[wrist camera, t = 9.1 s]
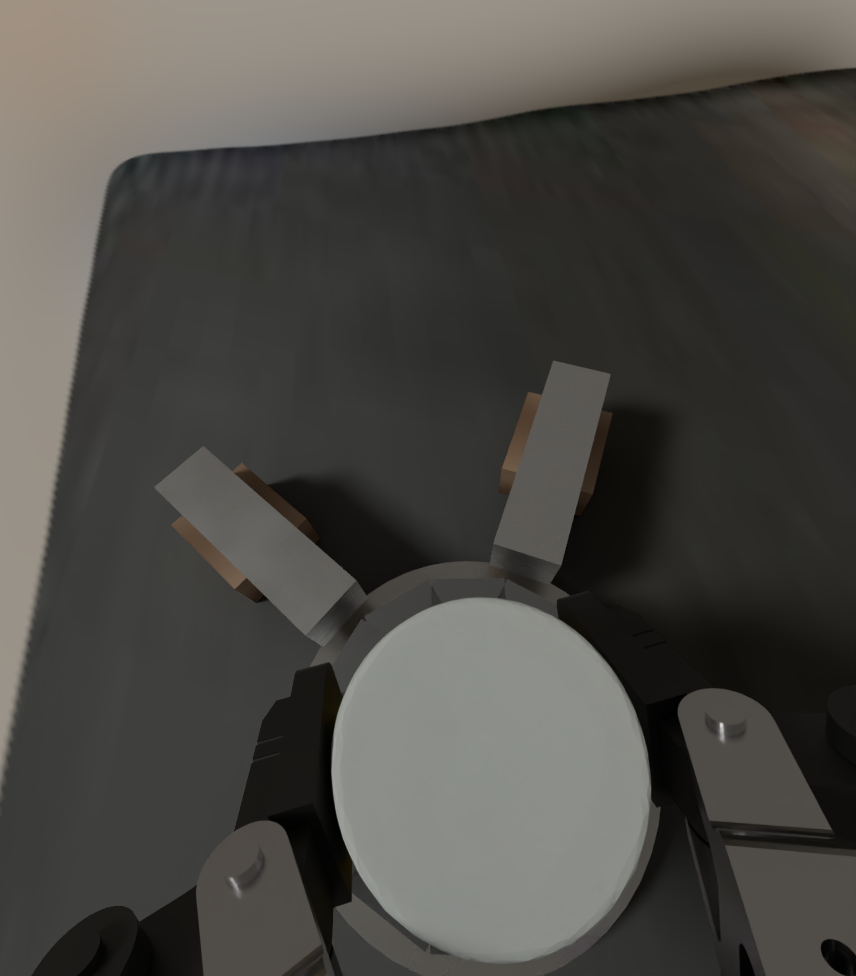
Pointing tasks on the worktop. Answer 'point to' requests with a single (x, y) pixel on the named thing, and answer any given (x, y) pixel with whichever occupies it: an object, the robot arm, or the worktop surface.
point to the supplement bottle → (491, 780)
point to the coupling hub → (345, 656)
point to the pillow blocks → (304, 526)
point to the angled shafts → (336, 594)
